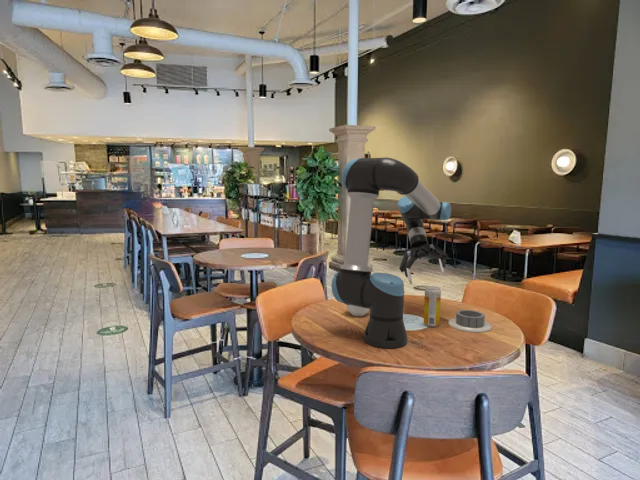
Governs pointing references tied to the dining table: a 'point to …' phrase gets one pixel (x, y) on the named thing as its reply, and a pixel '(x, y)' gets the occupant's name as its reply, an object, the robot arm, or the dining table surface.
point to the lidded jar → (357, 310)
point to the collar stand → (470, 321)
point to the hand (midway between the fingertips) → (426, 277)
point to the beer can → (432, 306)
